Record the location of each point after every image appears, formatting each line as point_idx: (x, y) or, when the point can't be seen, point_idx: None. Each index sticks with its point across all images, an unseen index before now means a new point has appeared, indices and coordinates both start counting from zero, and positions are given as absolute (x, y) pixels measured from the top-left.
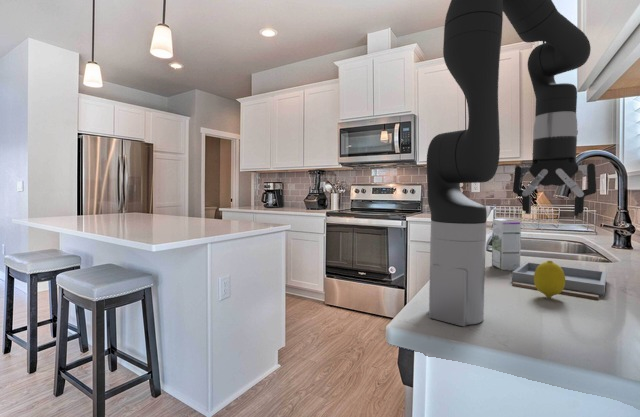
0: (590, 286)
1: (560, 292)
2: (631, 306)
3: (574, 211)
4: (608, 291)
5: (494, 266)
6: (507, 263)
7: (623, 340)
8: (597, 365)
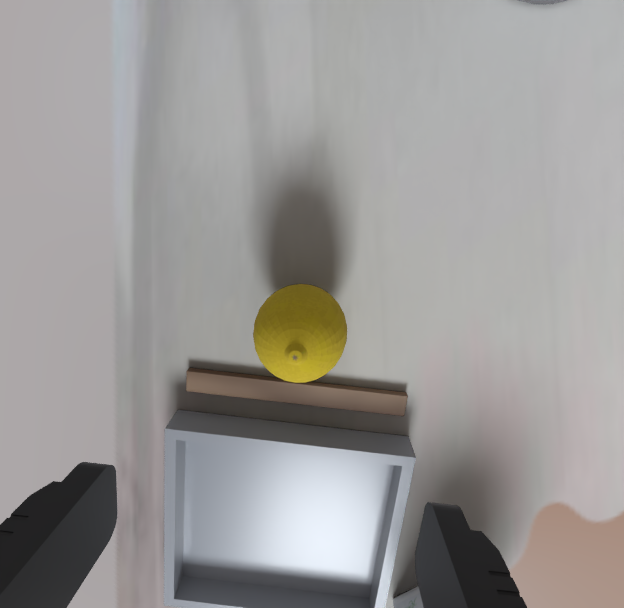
0: (200, 427)
1: (276, 378)
2: (120, 351)
3: (92, 484)
4: None
5: None
6: None
7: (133, 12)
8: None
